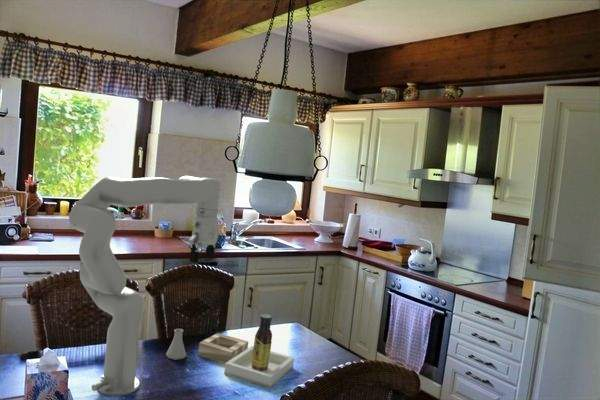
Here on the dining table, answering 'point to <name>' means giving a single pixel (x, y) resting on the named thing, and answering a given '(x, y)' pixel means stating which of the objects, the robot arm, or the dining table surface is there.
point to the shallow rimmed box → (221, 347)
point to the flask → (177, 346)
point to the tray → (267, 378)
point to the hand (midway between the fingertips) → (201, 260)
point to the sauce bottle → (262, 344)
